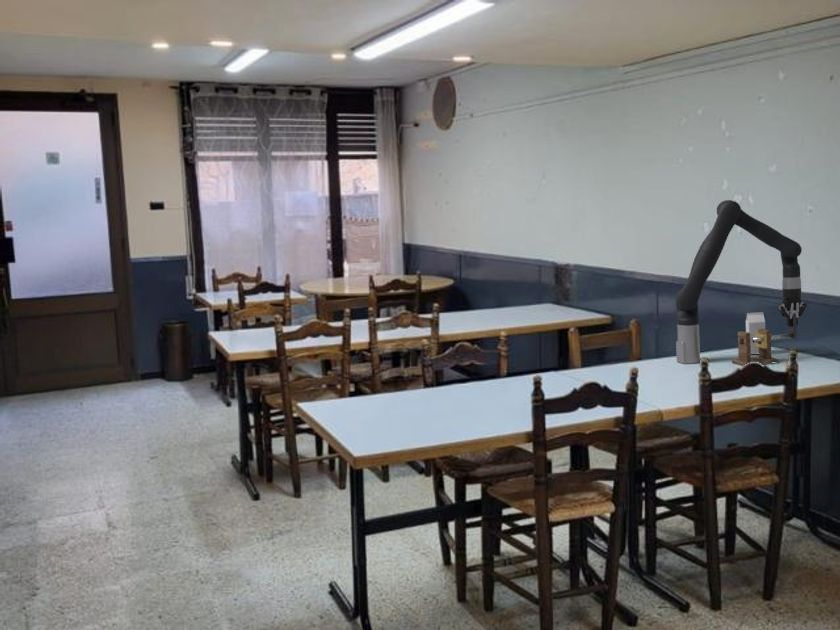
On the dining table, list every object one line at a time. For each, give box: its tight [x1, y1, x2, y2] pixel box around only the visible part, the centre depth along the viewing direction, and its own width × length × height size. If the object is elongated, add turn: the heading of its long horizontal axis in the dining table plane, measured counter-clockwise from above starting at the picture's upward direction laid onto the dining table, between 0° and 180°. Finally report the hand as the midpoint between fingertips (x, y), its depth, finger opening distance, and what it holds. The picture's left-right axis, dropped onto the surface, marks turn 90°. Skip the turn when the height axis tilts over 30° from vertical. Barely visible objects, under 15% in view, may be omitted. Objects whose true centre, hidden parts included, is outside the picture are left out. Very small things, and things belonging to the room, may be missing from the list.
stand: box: [731, 328, 780, 367], centre depth 365 cm, size 16×10×14 cm, turn 103°
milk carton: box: [745, 311, 766, 354], centre depth 385 cm, size 7×7×19 cm
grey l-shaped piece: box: [751, 315, 798, 343], centre depth 366 cm, size 21×3×10 cm, turn 103°
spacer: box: [755, 333, 767, 348], centre depth 365 cm, size 2×6×6 cm, turn 13°
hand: (792, 326), depth 368 cm, fingers closed on grey l-shaped piece
